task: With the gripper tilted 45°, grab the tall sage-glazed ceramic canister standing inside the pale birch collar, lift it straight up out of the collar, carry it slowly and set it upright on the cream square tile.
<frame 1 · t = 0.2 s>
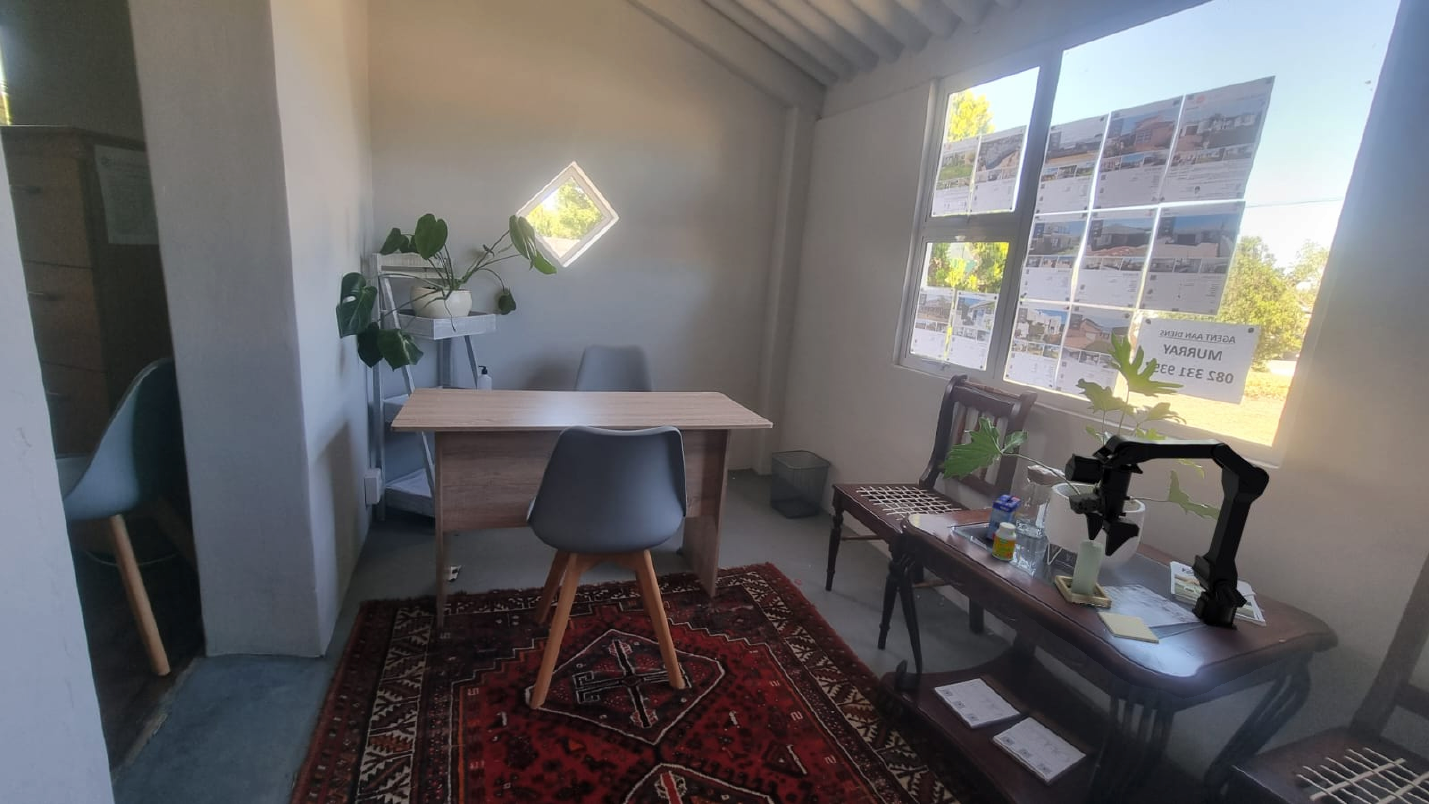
hand: (1099, 547, 143), 14 cm above the table, tool pointing down, fingers open, 9 cm apart
cream square tile: (1126, 627, 135), on the table
supplement bottle: (1001, 557, 167), on the table
birch collar: (1081, 594, 148), on the table
ceramic canister: (1086, 569, 147), in the birch collar
ink cartridge box: (1000, 537, 179), on the table
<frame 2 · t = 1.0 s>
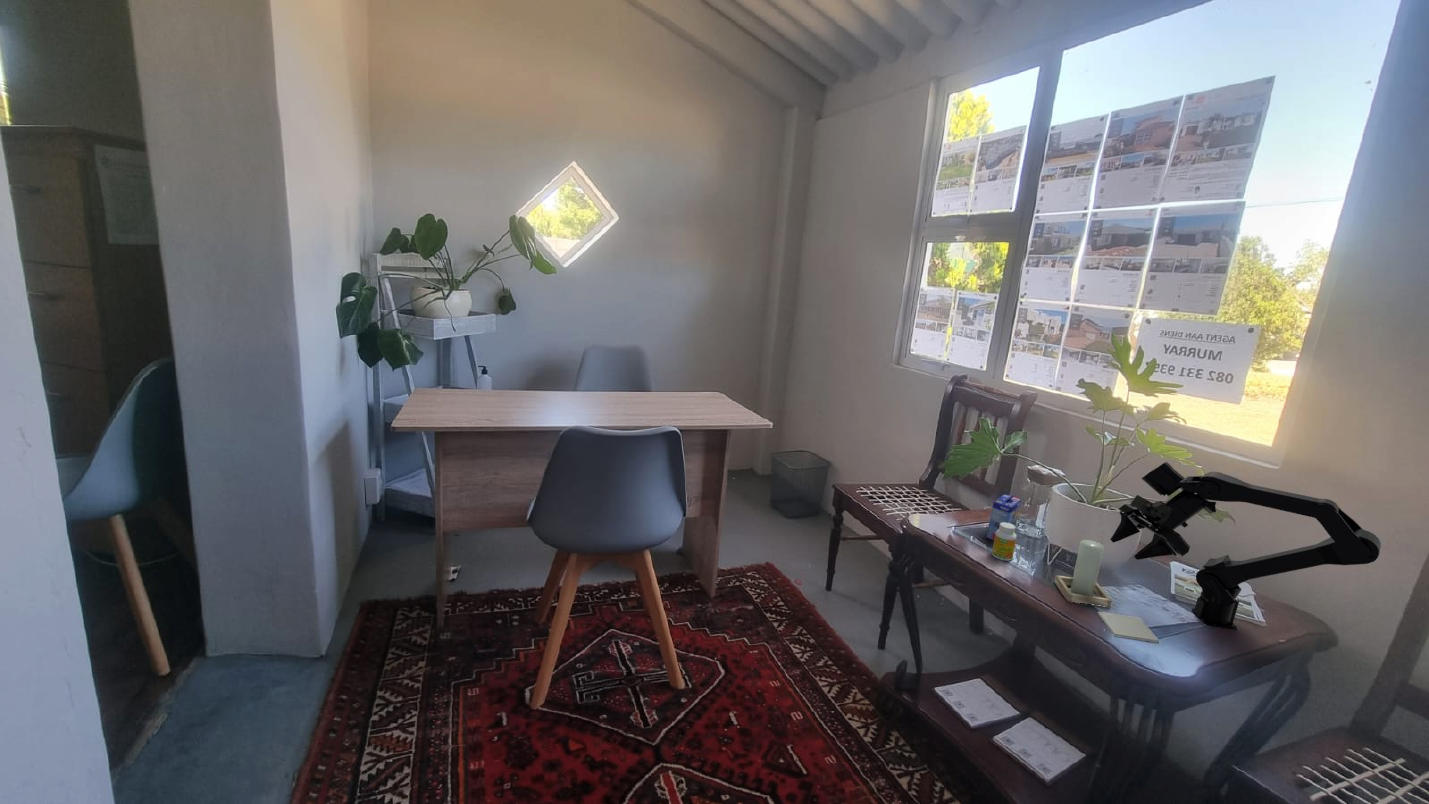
hand: (1123, 549, 145), 13 cm above the table, tool tilted 45°, fingers open, 9 cm apart
nothing on the table moved.
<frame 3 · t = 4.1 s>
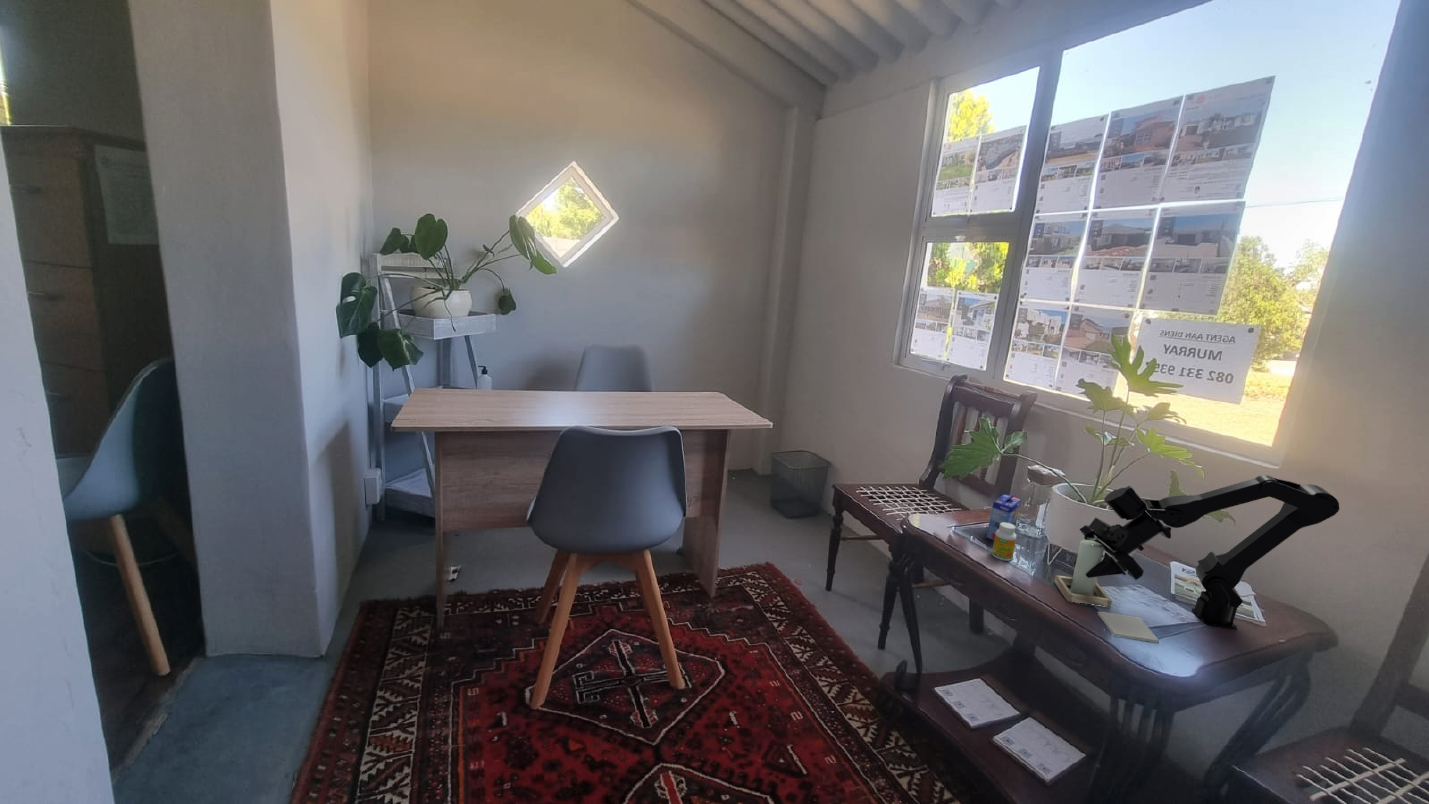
hand: (1080, 570, 147), 7 cm above the table, tool tilted 45°, fingers closed on ceramic canister, 5 cm apart
ceramic canister: (1086, 569, 147), in the birch collar, touching gripper
everything else where it was.
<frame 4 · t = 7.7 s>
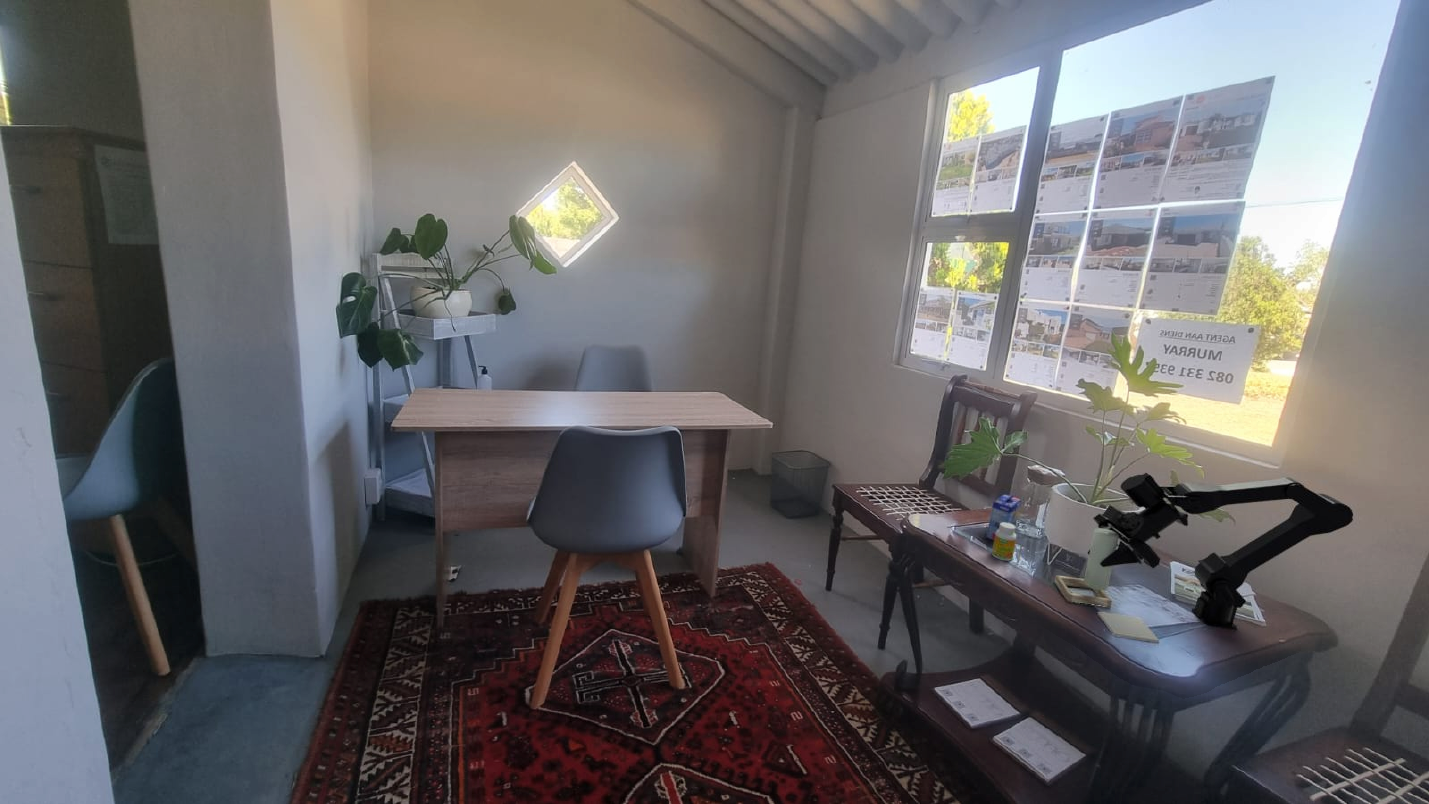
hand: (1094, 560, 143), 11 cm above the table, tool tilted 45°, fingers closed on ceramic canister, 5 cm apart
ceramic canister: (1101, 559, 143), point 12 cm above the table, touching gripper
everything else where it was.
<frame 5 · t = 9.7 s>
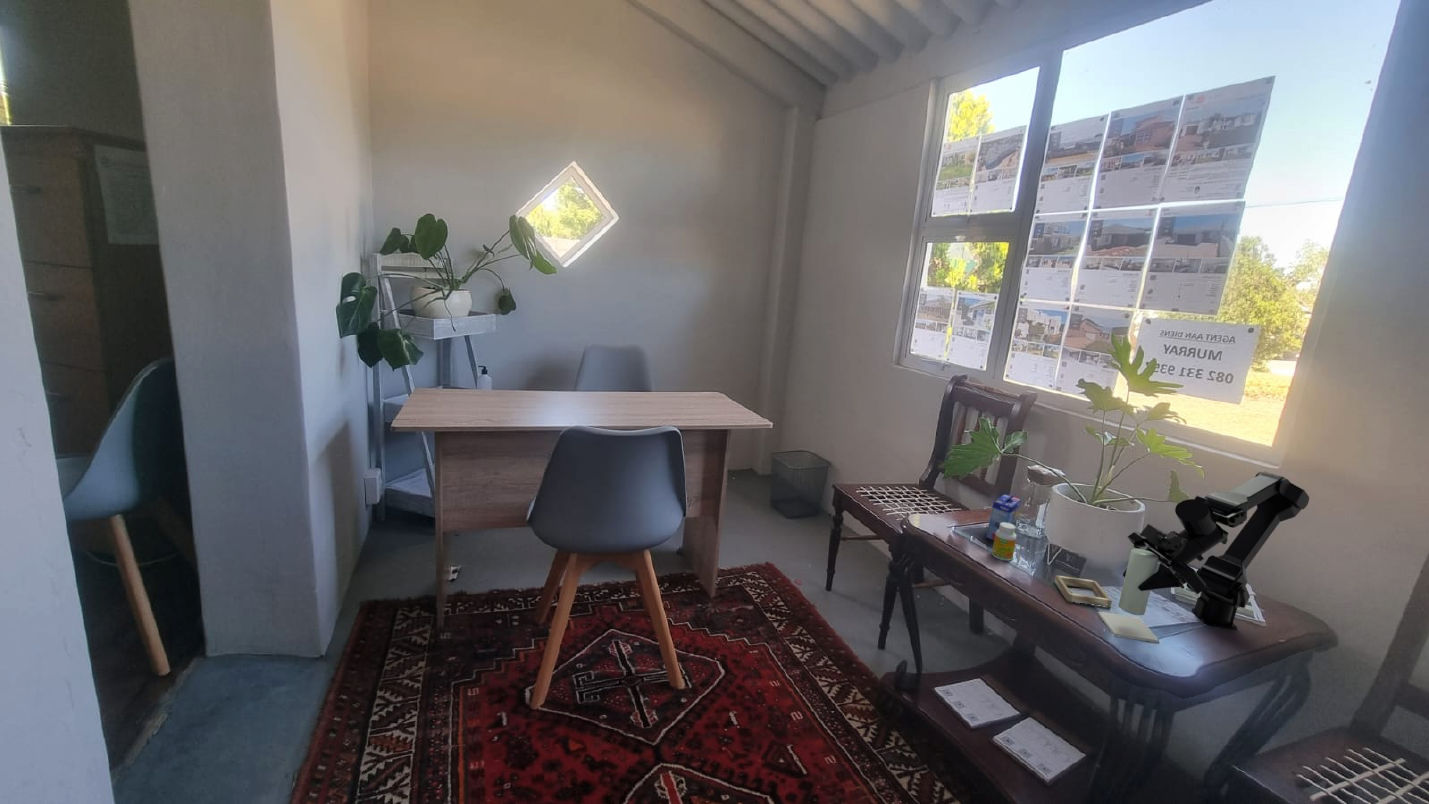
hand: (1131, 582, 133), 11 cm above the table, tool tilted 45°, fingers closed on ceramic canister, 5 cm apart
ceramic canister: (1138, 581, 132), point 12 cm above the table, touching gripper
everything else where it was.
when the fingers open (8 cm above the table, at t = 11.4 s): ceramic canister stays where it is, resting on cream square tile.
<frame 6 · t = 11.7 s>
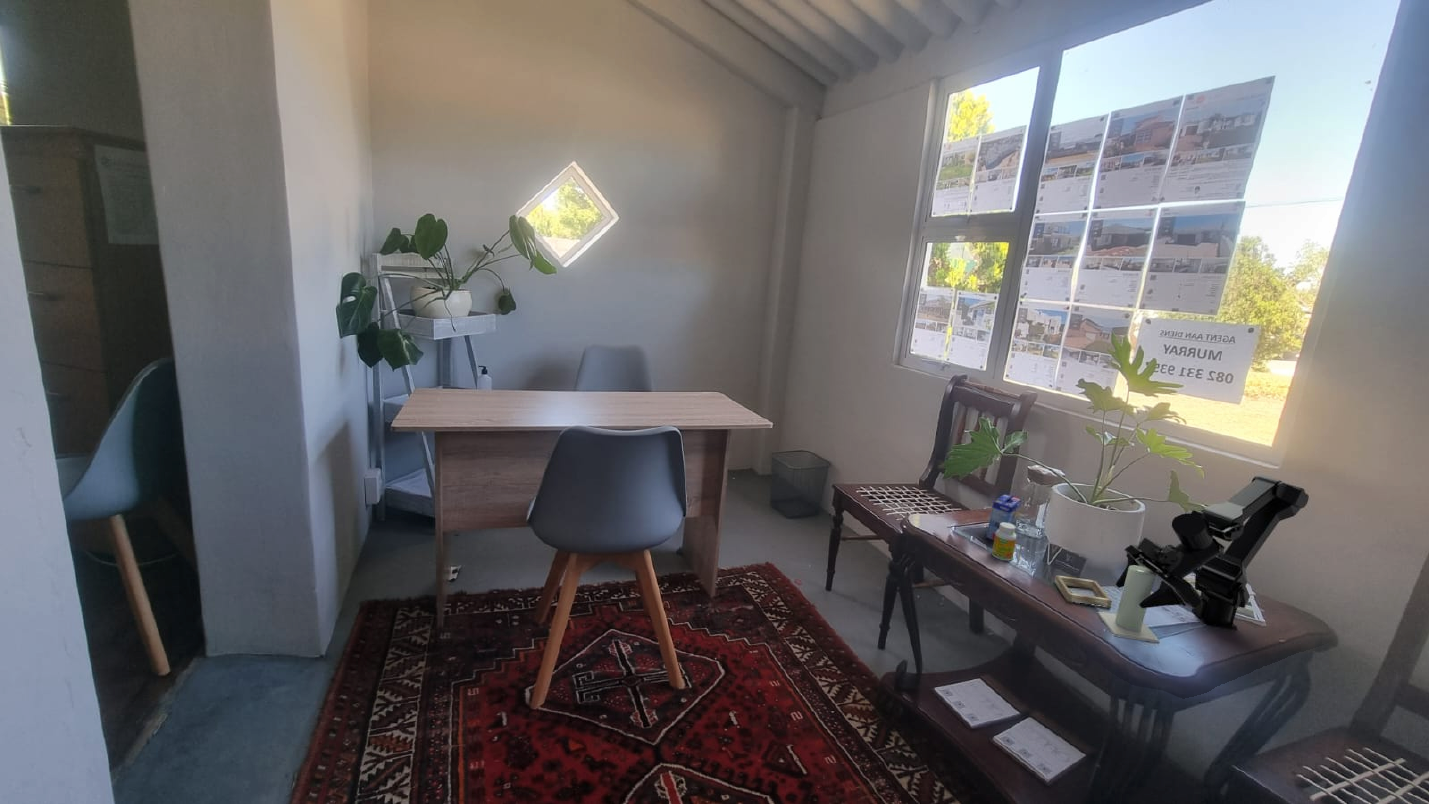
hand: (1128, 595, 133), 8 cm above the table, tool tilted 45°, fingers open, 8 cm apart
ceramic canister: (1134, 598, 133), on the cream square tile, point 8 cm above the table
everything else where it was.
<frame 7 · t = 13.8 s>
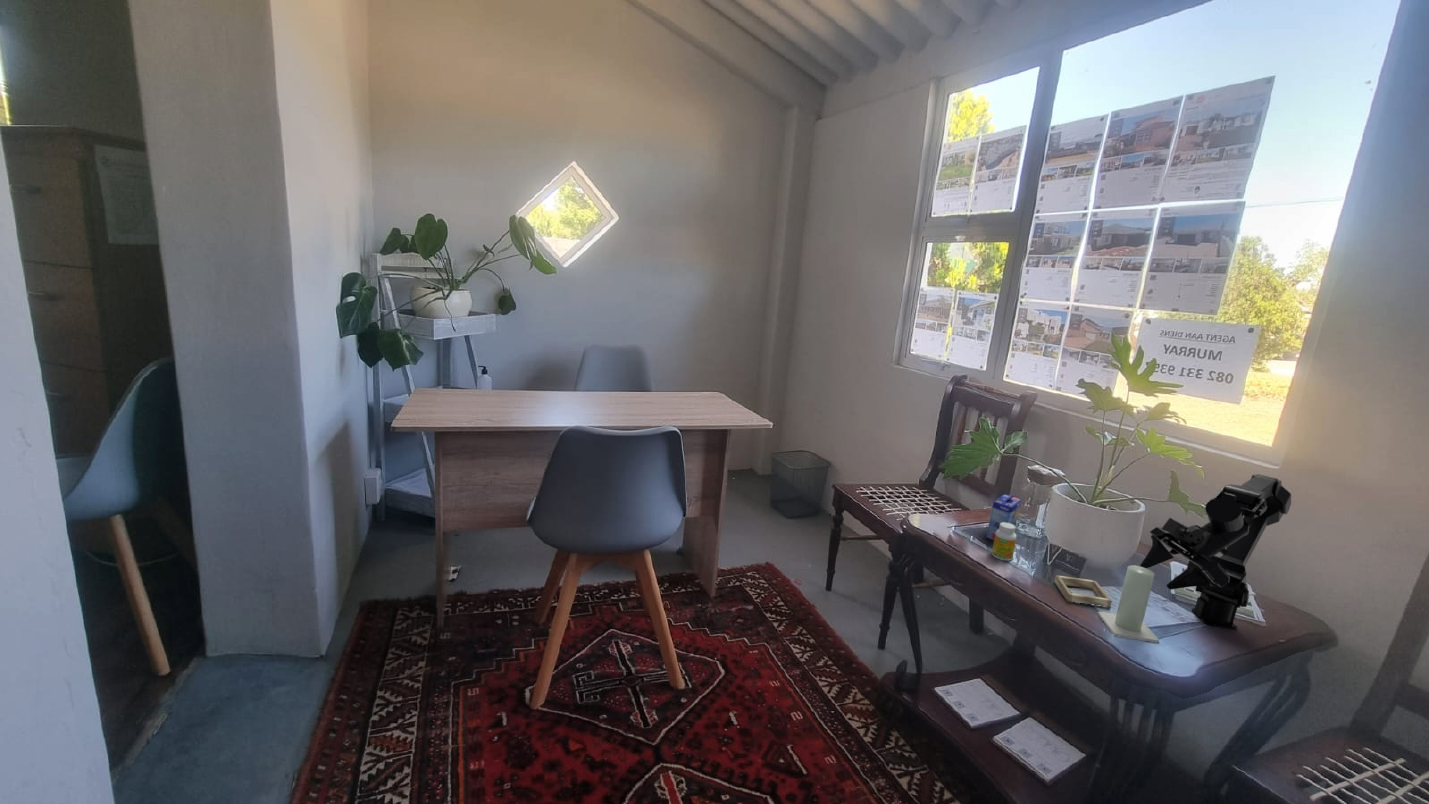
hand: (1154, 577, 132), 13 cm above the table, tool tilted 45°, fingers open, 9 cm apart
nothing on the table moved.
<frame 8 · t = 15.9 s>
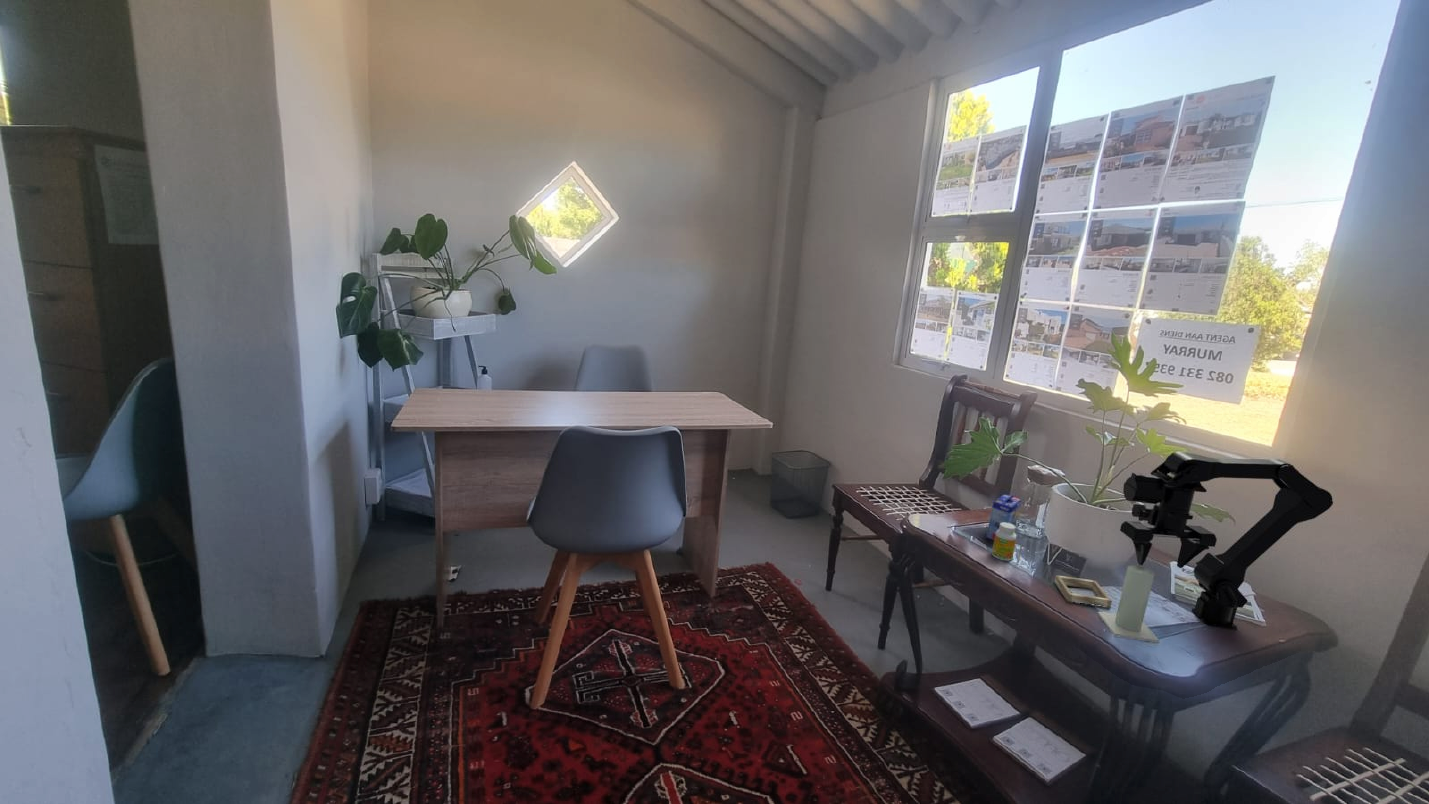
hand: (1159, 565, 140), 12 cm above the table, tool pointing down, fingers open, 9 cm apart
nothing on the table moved.
at the end: ceramic canister inside the target area on the cream square tile (0.1 cm from its centre), point 7.6 cm above the cream square tile's base; ceramic canister tilted 0°; the gripper is holding nothing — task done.
